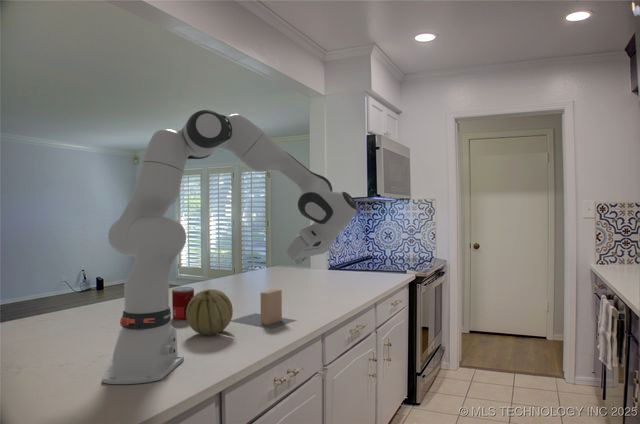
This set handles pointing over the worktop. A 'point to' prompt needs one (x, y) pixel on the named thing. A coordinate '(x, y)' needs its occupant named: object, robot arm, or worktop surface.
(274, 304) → the block
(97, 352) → the worktop surface
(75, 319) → the worktop surface
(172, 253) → the robot arm
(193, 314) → the cantaloupe
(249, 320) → the mat
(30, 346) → the worktop surface
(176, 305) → the canned food
